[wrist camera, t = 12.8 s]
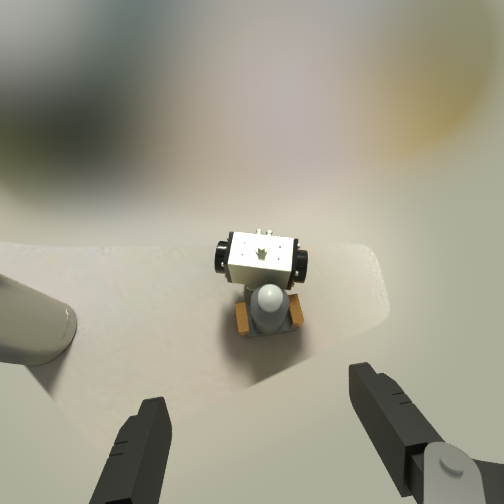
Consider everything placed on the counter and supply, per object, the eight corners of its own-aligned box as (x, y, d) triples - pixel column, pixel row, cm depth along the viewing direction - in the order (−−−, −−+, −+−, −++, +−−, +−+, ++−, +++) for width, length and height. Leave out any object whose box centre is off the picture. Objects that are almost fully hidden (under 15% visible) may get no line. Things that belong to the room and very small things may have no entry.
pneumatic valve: (296, 301, 40) (310, 270, 30) (221, 292, 41) (209, 258, 31) (298, 269, 43) (311, 229, 32) (228, 261, 44) (218, 219, 33)
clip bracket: (240, 339, 38) (238, 334, 35) (236, 308, 40) (234, 301, 37) (301, 329, 39) (304, 323, 35) (293, 299, 41) (296, 291, 38)
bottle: (254, 336, 37) (253, 319, 28) (249, 305, 39) (247, 280, 31) (286, 331, 37) (294, 313, 29) (280, 300, 40) (286, 274, 31)
